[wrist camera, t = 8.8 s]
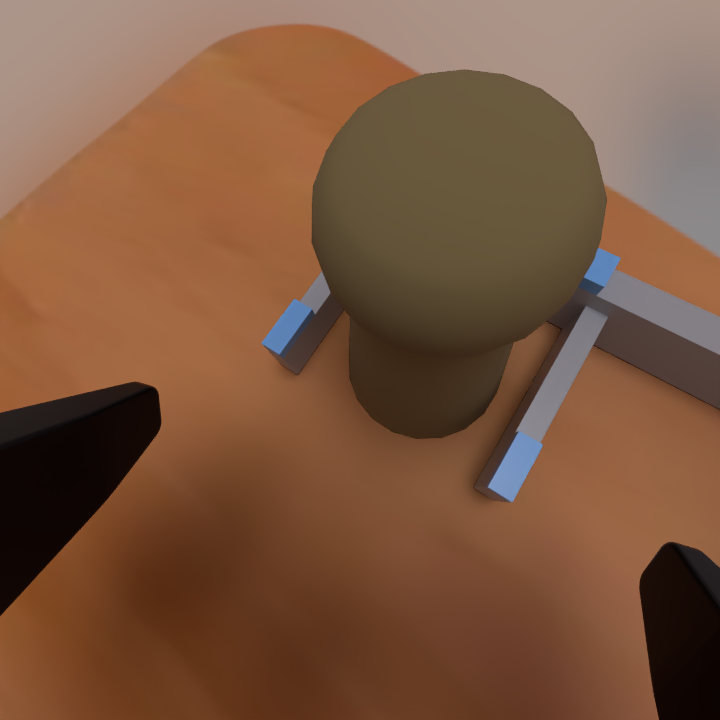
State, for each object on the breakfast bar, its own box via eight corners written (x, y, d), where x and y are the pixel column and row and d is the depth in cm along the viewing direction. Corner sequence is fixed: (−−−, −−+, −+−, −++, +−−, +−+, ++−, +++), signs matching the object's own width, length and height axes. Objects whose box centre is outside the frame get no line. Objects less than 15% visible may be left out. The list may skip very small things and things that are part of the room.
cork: (323, 338, 17) (206, 108, 7) (447, 270, 18) (514, -43, 7) (395, 468, 16) (385, 425, 5) (532, 390, 16) (783, 200, 5)
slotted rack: (282, 365, 17) (252, 334, 14) (390, 214, 19) (388, 153, 15) (752, 666, 13) (881, 731, 9) (839, 434, 14) (975, 417, 11)
